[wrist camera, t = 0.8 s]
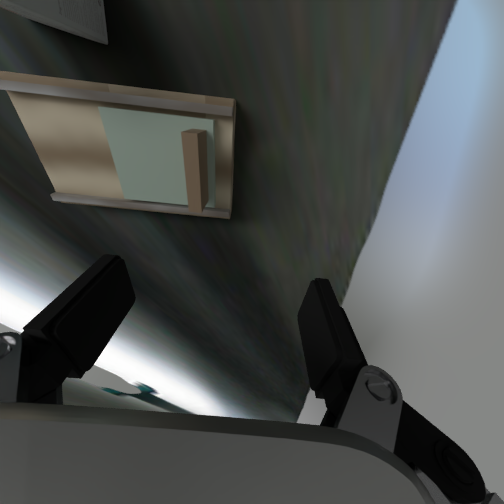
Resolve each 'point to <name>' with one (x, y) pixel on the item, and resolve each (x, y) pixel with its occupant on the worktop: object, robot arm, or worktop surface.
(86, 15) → the small box
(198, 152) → the lid
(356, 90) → the worktop surface
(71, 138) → the sliding lid wooden box
